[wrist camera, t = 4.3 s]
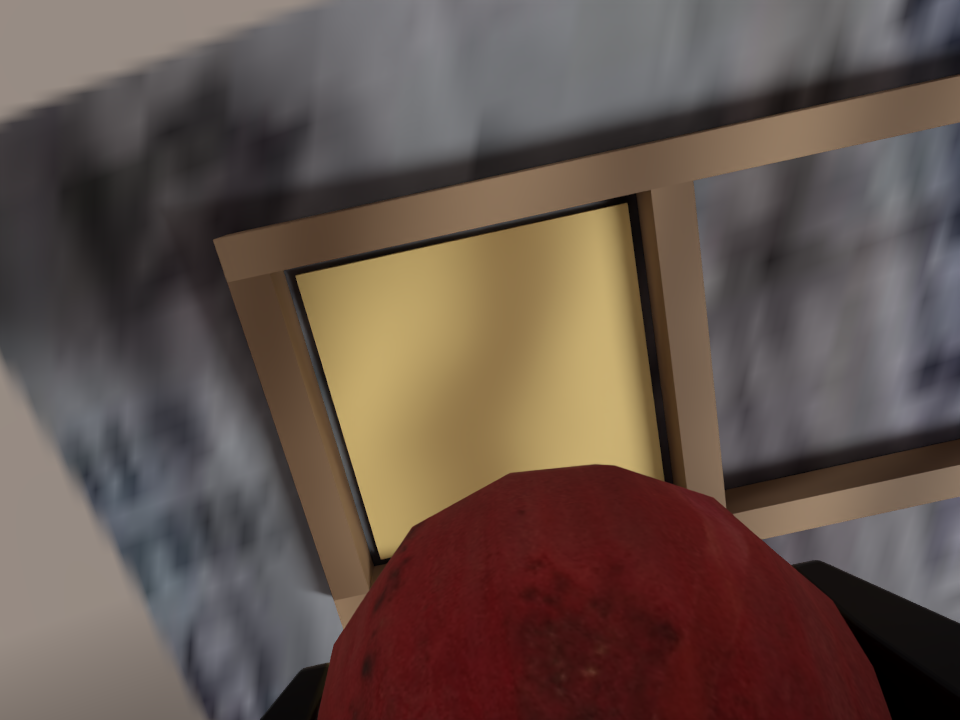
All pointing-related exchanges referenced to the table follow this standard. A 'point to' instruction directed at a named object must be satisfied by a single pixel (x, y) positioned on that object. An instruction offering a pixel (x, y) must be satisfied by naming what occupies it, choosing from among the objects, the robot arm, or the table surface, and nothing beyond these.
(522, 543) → the red pomegranate
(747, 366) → the table surface
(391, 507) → the wooden divided frame
